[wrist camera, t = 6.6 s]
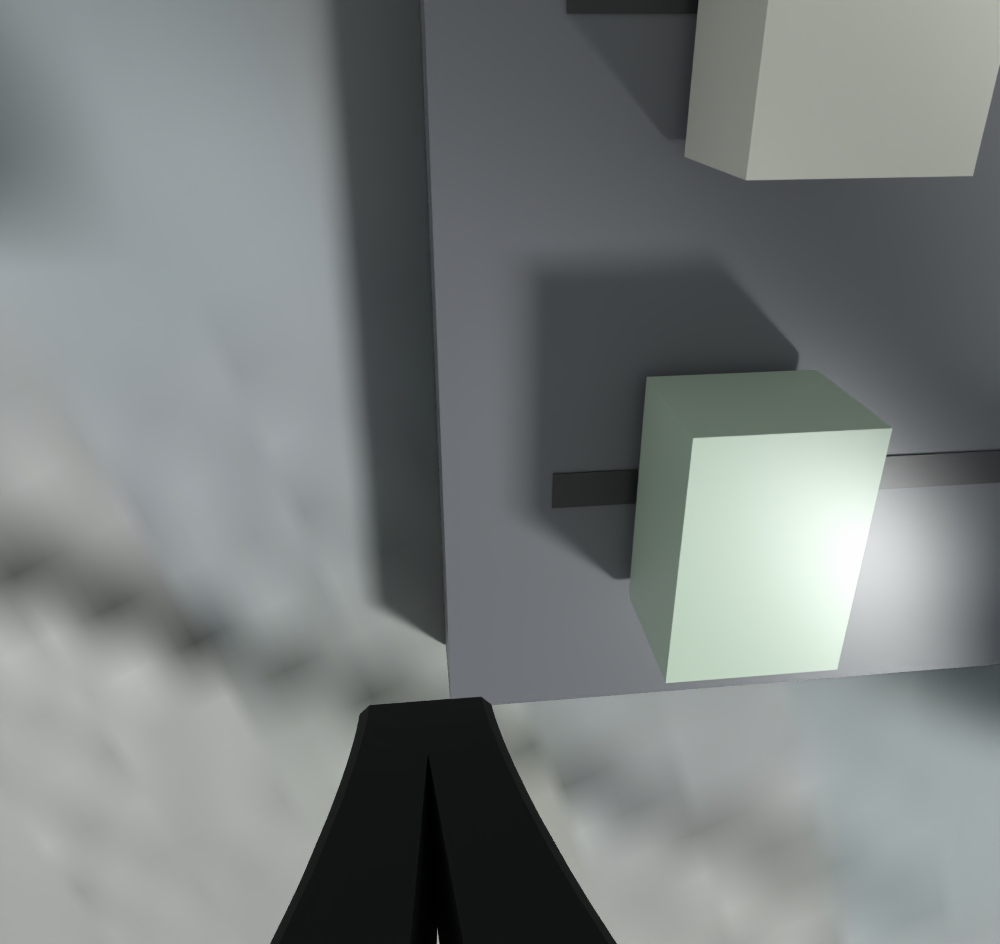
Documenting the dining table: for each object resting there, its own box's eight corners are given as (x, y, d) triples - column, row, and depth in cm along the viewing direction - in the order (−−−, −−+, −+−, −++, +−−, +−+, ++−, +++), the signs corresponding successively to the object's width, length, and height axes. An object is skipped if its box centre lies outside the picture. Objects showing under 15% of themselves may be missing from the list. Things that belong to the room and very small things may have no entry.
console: (1591, -382, 13) (1789, -453, 11) (1167, 594, 21) (1240, 646, 19) (402, -447, 11) (403, -544, 9) (445, 646, 19) (451, 709, 17)
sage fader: (816, 369, 14) (892, 428, 12) (778, 585, 16) (837, 670, 14) (646, 376, 14) (692, 438, 12) (628, 596, 16) (665, 683, 14)
